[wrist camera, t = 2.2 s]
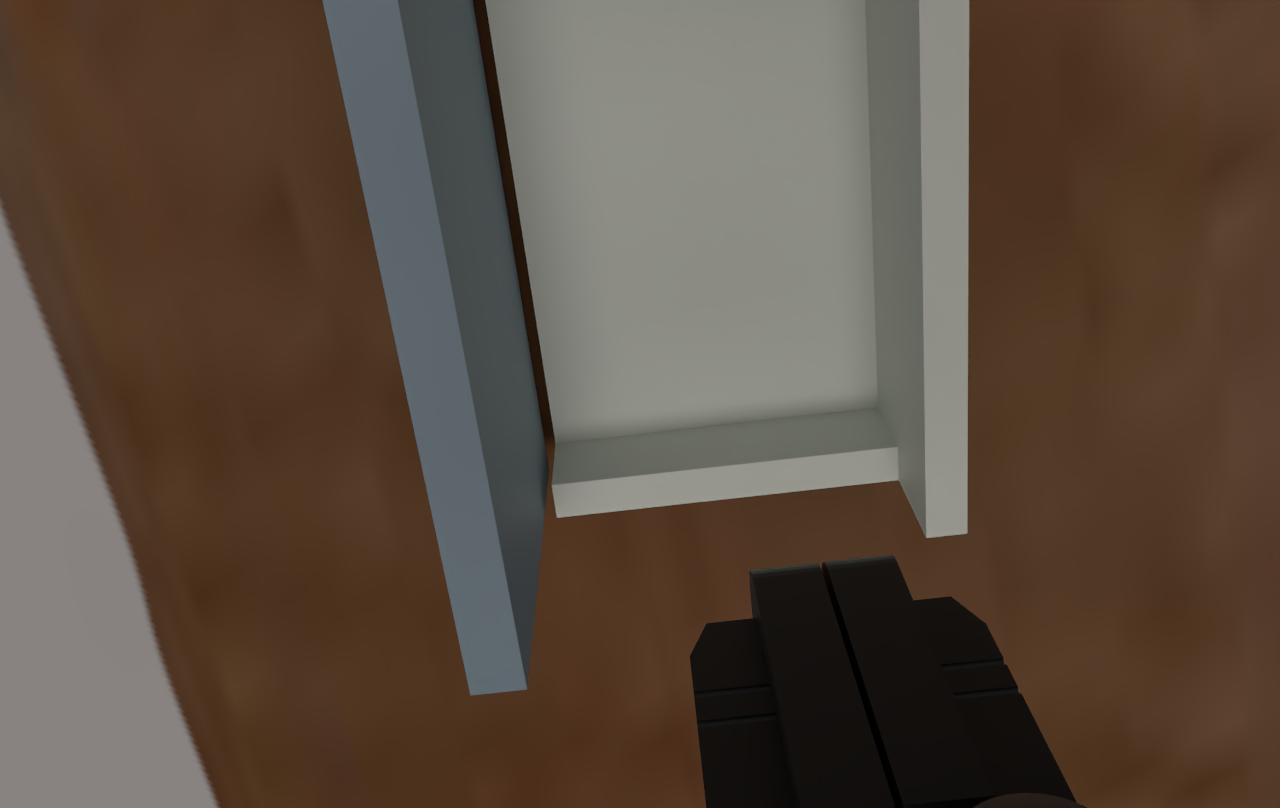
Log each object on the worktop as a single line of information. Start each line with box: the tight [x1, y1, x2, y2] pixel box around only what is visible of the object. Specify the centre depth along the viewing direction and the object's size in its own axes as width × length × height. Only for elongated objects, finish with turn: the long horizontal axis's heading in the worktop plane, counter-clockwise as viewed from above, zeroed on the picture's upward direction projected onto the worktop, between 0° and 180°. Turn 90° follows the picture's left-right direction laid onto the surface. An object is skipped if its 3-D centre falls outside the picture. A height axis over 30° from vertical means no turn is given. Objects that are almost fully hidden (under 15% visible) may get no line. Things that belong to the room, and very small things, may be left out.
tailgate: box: [323, 0, 549, 695], centre depth 26 cm, size 1×16×10 cm, turn 6°
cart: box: [485, 0, 969, 538], centre depth 28 cm, size 10×17×7 cm, turn 6°
